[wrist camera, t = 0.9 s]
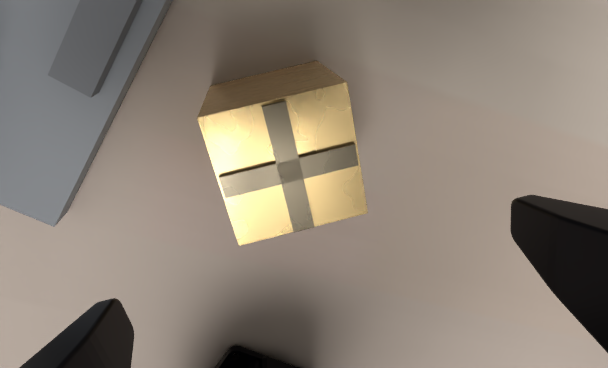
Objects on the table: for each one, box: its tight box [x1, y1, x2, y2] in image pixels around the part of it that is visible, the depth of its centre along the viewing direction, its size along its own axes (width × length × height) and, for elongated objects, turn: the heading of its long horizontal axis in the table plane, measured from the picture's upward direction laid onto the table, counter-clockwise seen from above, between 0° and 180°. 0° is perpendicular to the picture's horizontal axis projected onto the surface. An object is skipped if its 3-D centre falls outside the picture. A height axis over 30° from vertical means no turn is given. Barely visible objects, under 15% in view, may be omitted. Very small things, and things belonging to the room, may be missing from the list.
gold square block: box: [197, 61, 368, 246], centre depth 17 cm, size 5×5×6 cm
